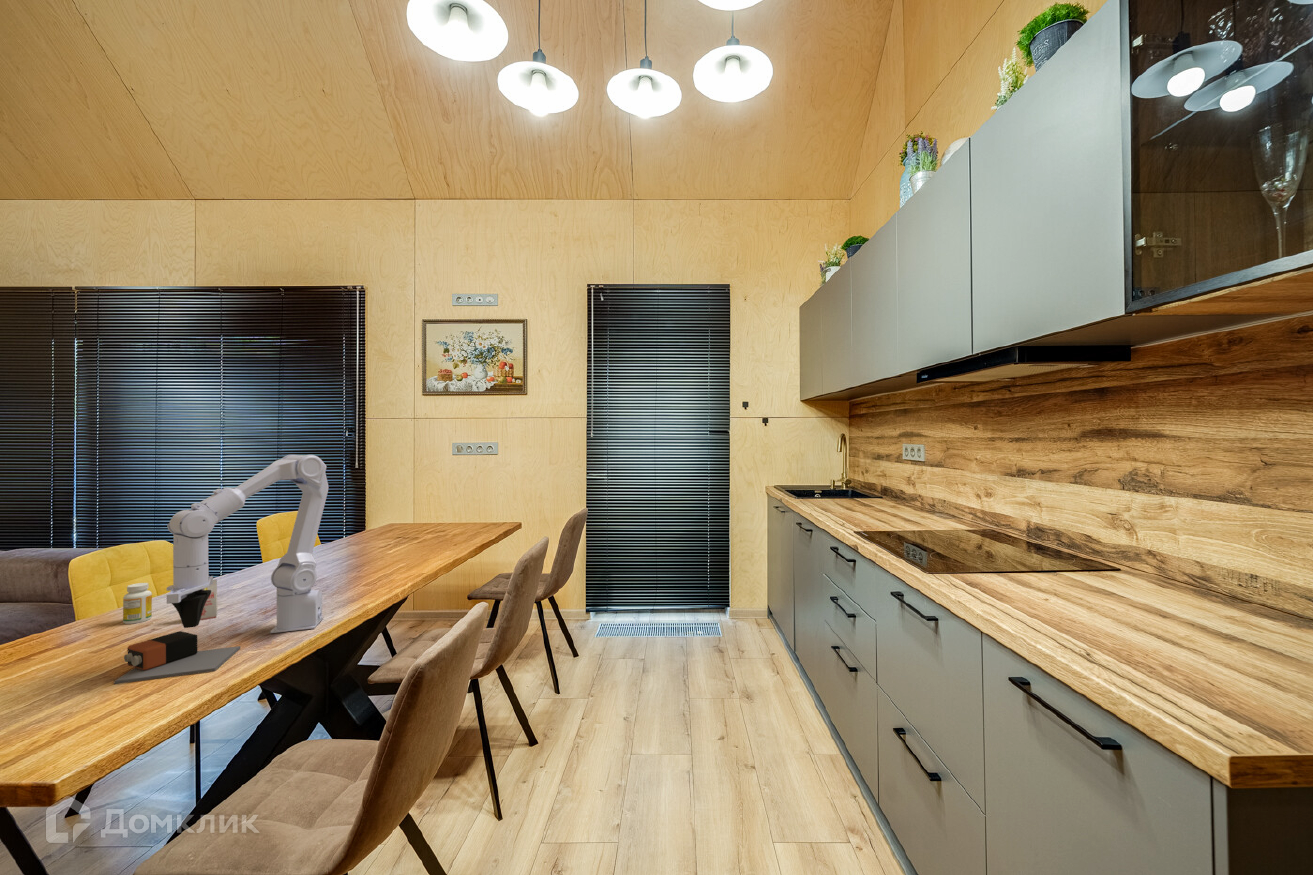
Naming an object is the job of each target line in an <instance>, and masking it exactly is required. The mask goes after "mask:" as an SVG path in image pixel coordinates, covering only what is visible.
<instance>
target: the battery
mask: <svg viewBox="0 0 1313 875" xmlns="http://www.w3.org/2000/svg"><path fill="white" fill-rule="evenodd" d="M197 651H198V635H197V634H194V633H190V632H185V631H182V630H179V631H175V632H172V633H168V634H165V635H161V636H157V637H155V638H152V639H147V640H144V641H140V642H137V643H133V644H130V645H128V646H127V654H125V655H124V656H123V660H124V662H125V663H127V666H129V667H132V668H138V669H142V670H148V669H152V668H155V667H158V666H161V665H164V664H167V663H170V662H173V661H176V660H179V659H182V658H185V657H188V656H191V655H194V654H196V653H197Z"/></svg>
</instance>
